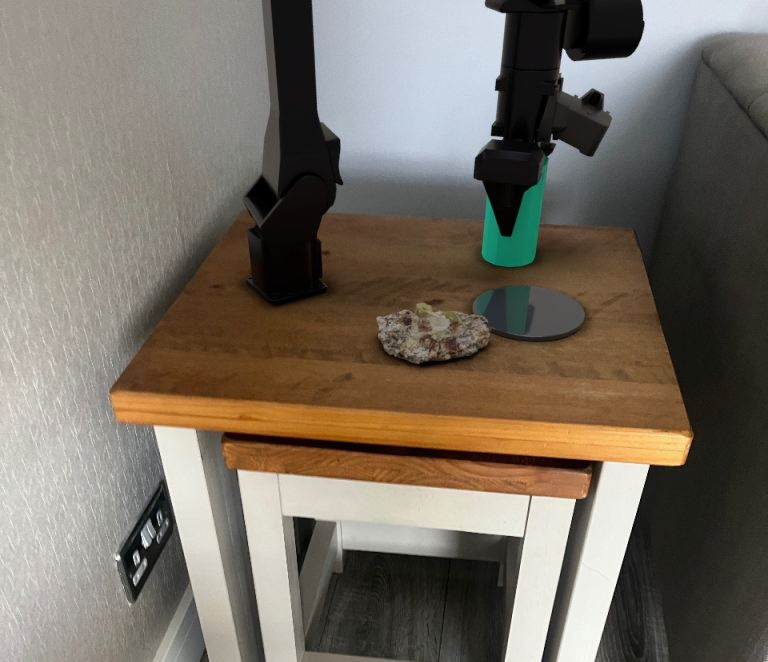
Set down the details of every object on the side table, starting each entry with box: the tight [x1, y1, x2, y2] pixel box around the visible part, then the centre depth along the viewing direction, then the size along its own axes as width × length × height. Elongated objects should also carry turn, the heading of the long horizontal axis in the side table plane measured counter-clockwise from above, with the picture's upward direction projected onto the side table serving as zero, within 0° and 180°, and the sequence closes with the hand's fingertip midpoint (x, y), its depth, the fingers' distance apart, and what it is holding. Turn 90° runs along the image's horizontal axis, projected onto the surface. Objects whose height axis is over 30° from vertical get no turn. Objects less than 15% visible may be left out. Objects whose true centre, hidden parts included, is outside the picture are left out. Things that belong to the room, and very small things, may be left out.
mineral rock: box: [375, 302, 492, 365], centre depth 72 cm, size 11×4×8 cm
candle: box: [481, 156, 550, 268], centre depth 84 cm, size 6×6×12 cm
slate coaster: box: [471, 285, 586, 342], centre depth 77 cm, size 11×11×1 cm
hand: (511, 225), depth 86 cm, fingers closed on candle, 6 cm apart
